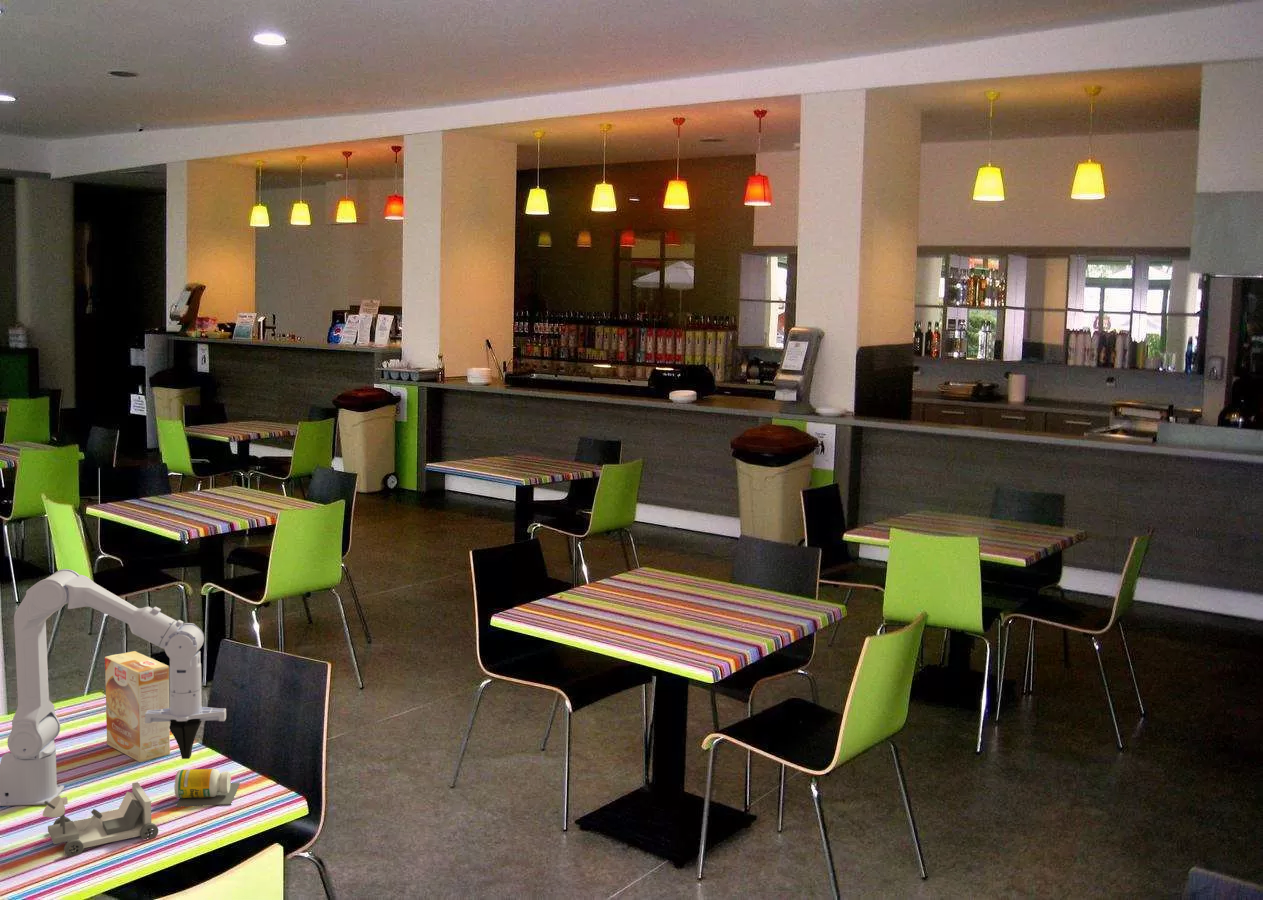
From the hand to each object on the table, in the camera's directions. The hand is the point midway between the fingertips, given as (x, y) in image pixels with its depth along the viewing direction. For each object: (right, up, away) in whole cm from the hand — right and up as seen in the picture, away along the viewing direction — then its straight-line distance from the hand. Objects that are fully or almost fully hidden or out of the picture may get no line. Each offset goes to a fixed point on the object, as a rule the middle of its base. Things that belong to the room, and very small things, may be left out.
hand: (186, 757), depth 228 cm
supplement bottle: (-2, -5, -1) cm, 5 cm away
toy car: (-9, -10, -17) cm, 22 cm away
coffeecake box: (-19, -5, +24) cm, 31 cm away
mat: (+4, -8, +2) cm, 9 cm away
